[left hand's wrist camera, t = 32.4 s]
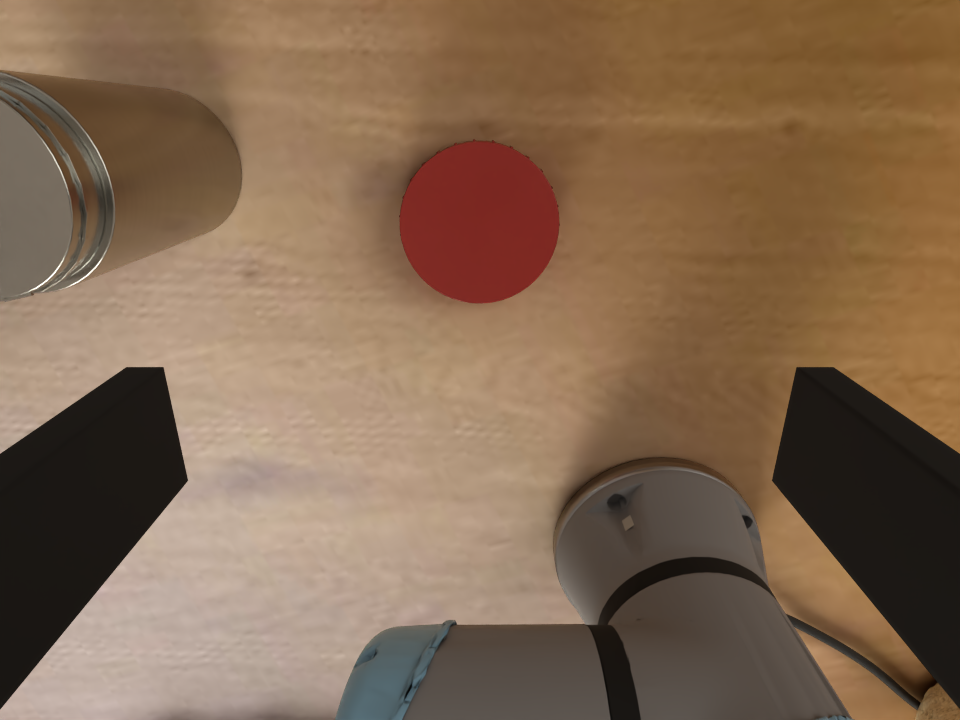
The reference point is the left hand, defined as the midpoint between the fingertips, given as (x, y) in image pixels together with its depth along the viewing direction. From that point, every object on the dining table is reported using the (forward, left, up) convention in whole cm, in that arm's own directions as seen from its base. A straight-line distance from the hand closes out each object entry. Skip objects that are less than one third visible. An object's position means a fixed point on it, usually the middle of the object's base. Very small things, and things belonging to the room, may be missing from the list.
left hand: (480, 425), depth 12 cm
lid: (0, 0, -24) cm, 24 cm away
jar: (+19, 0, -26) cm, 33 cm away
